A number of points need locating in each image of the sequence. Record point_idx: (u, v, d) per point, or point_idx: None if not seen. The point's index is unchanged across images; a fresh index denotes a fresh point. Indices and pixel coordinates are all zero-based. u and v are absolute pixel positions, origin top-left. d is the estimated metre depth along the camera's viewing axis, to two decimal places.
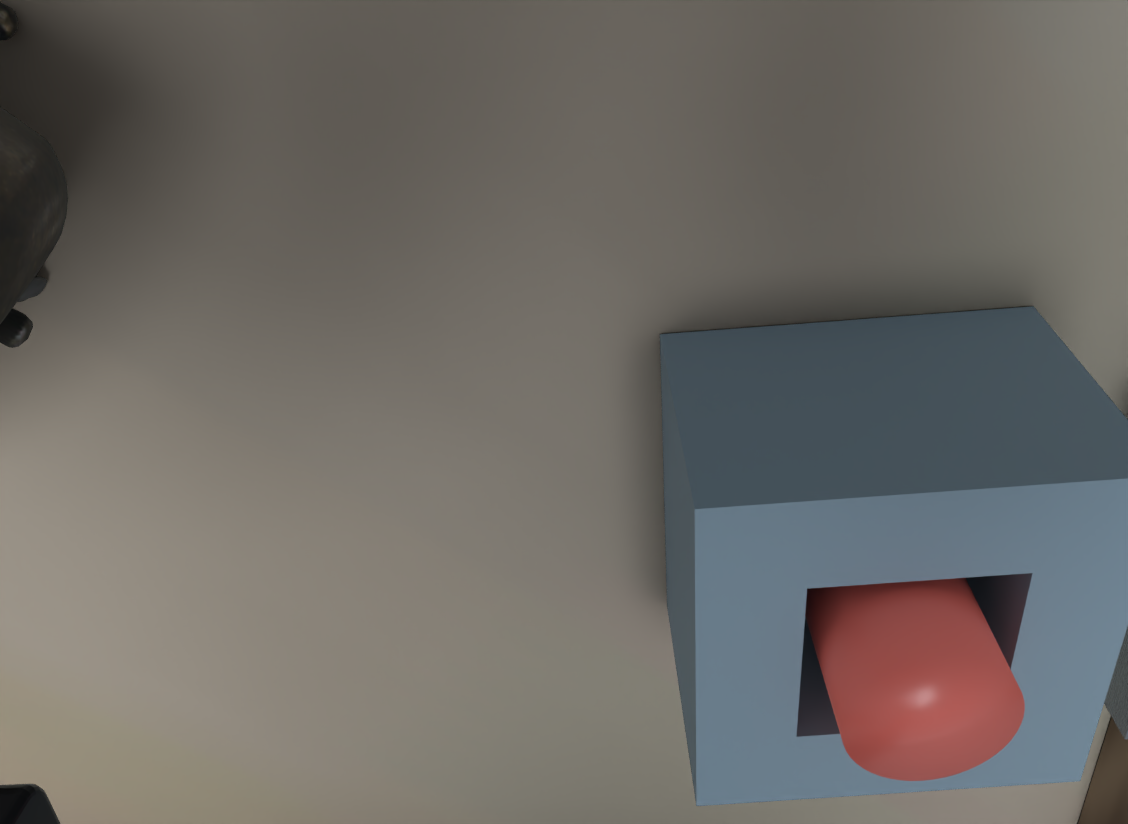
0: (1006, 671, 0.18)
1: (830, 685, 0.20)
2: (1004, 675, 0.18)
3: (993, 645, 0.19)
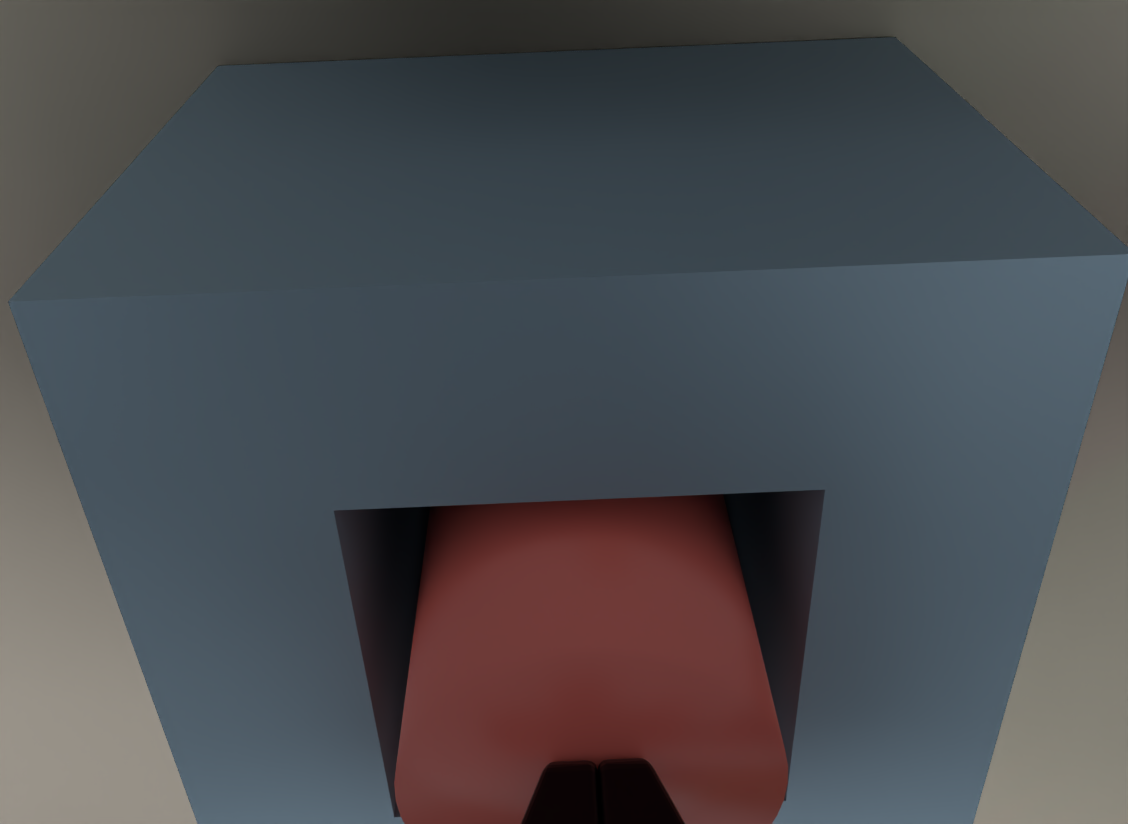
0: (443, 691, 0.08)
1: None
2: (447, 702, 0.08)
3: (448, 635, 0.09)
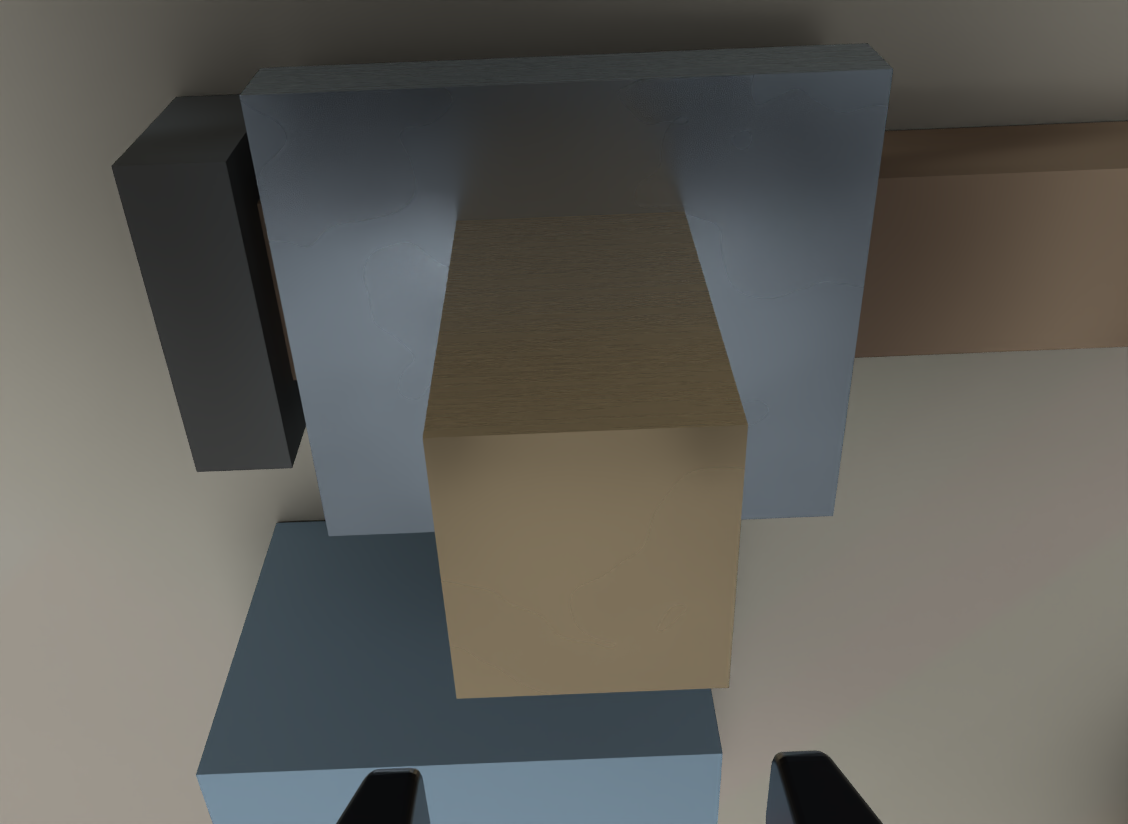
0: None
1: None
2: None
3: None
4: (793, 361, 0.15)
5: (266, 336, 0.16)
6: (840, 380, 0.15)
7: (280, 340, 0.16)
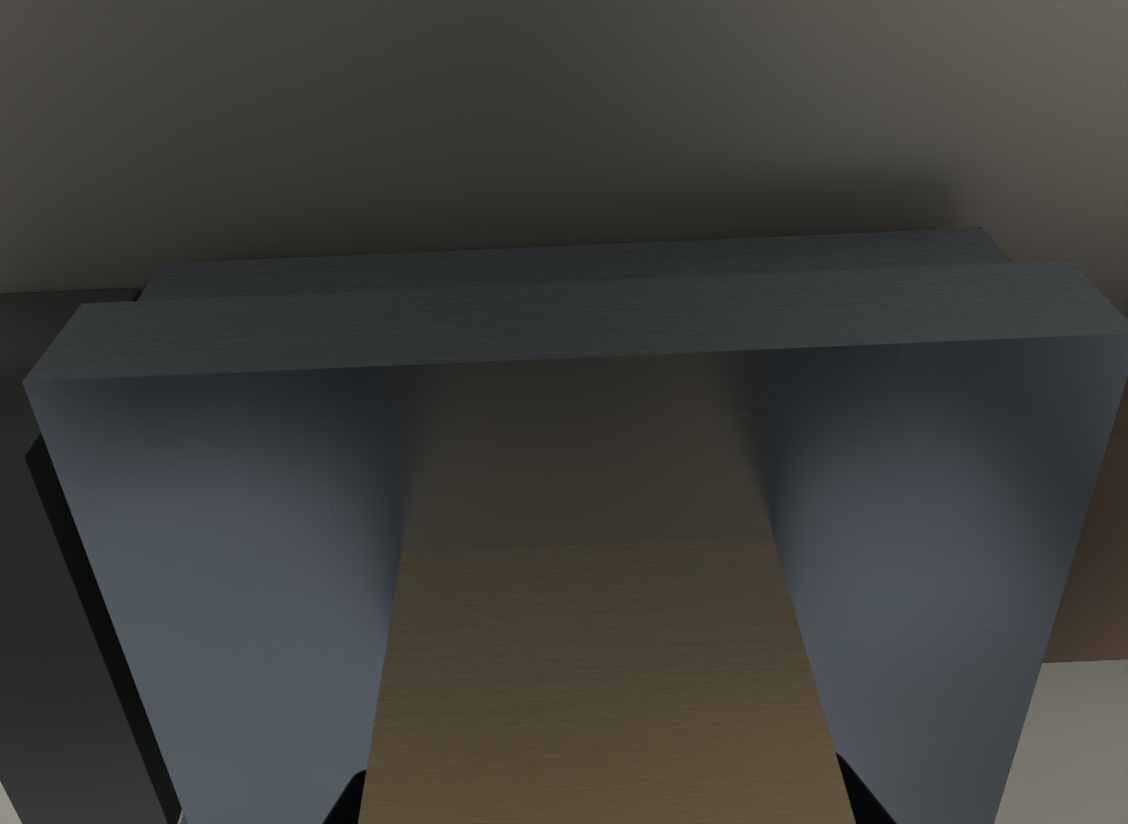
0: None
1: None
2: None
3: None
4: (930, 725, 0.10)
5: (120, 675, 0.10)
6: (1000, 746, 0.10)
7: None
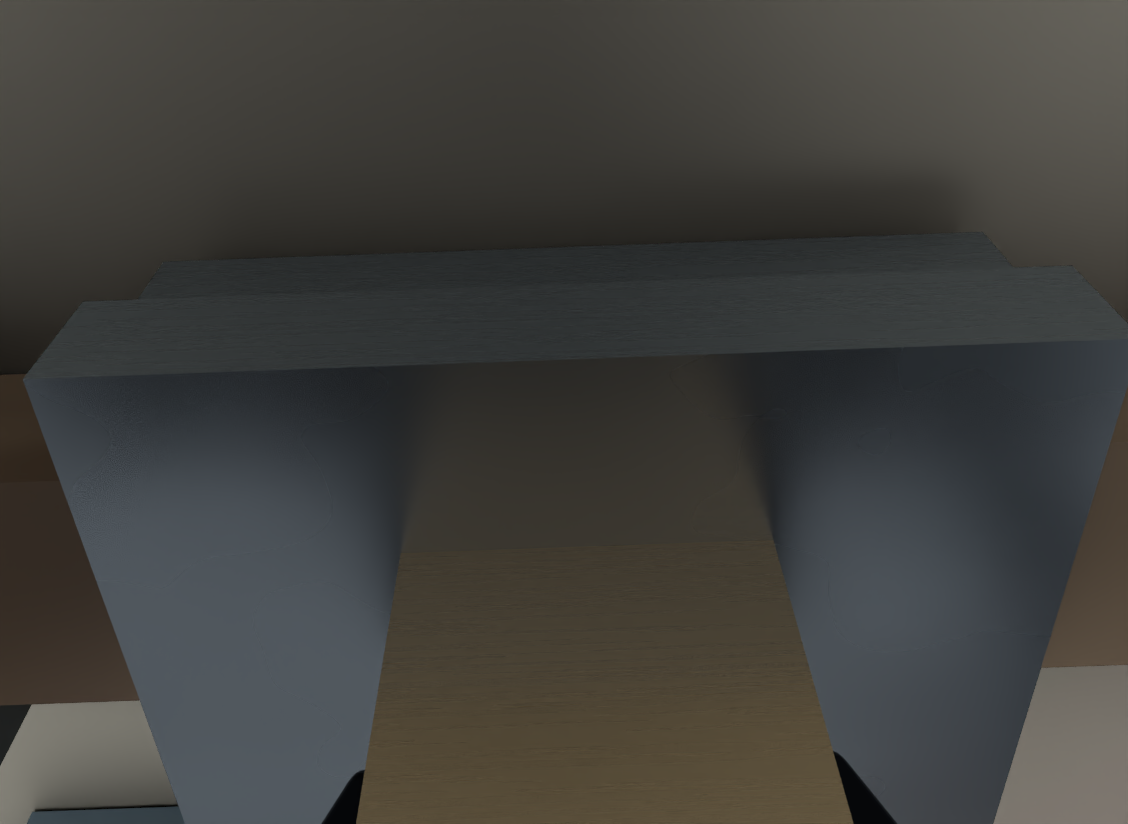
0: None
1: None
2: None
3: None
4: (929, 729, 0.10)
5: None
6: (998, 751, 0.10)
7: None
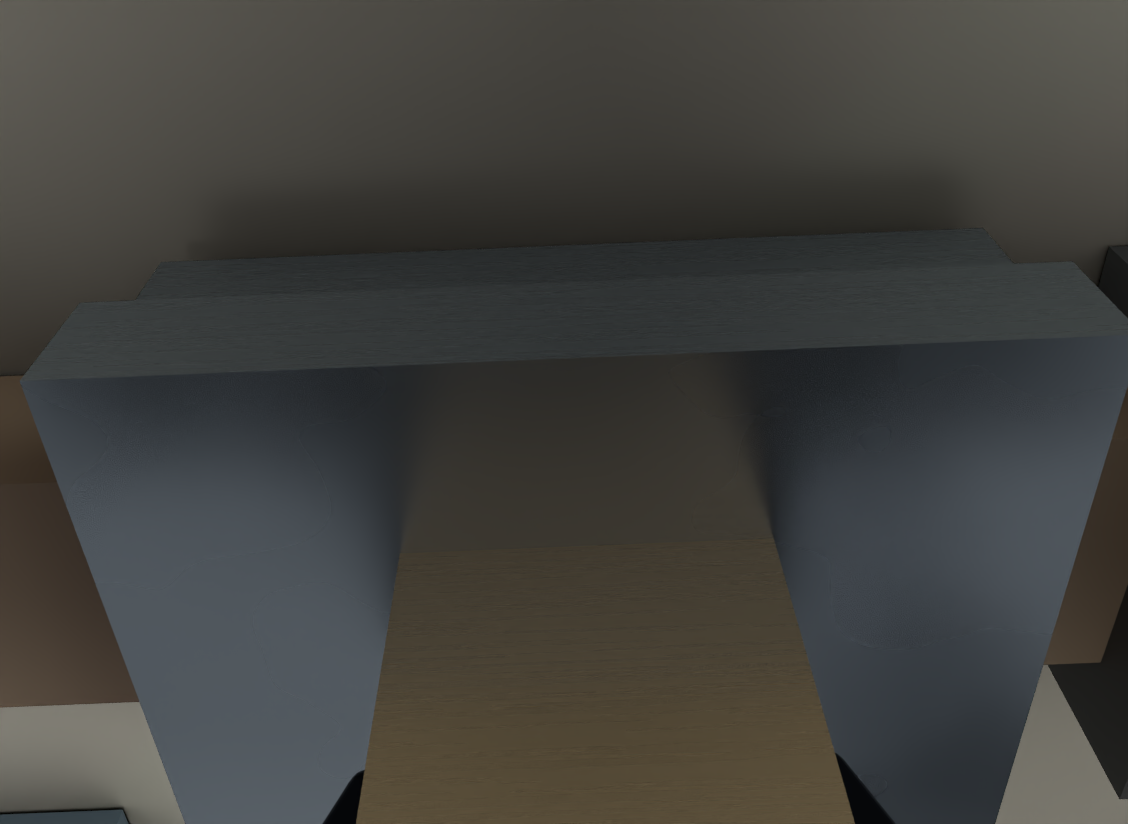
0: None
1: None
2: None
3: None
4: (931, 727, 0.10)
5: None
6: (1000, 749, 0.10)
7: None
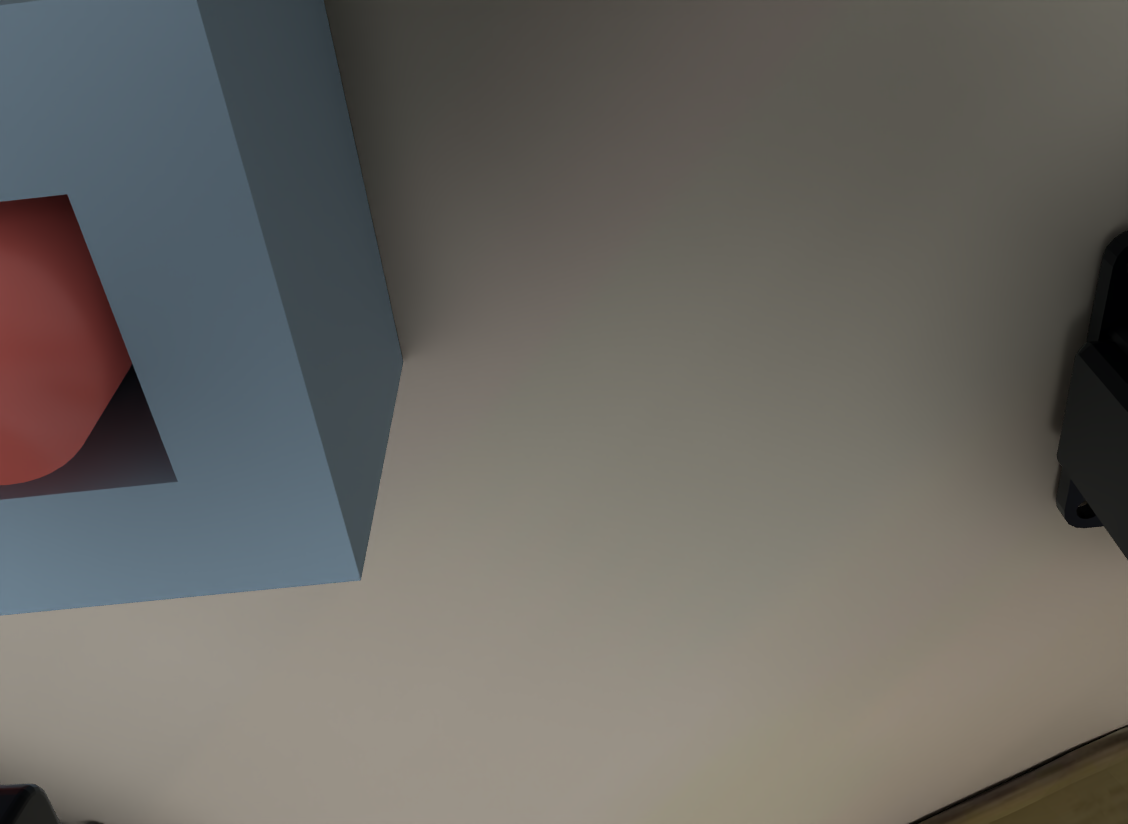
0: None
1: None
2: None
3: None
4: None
5: None
6: None
7: None
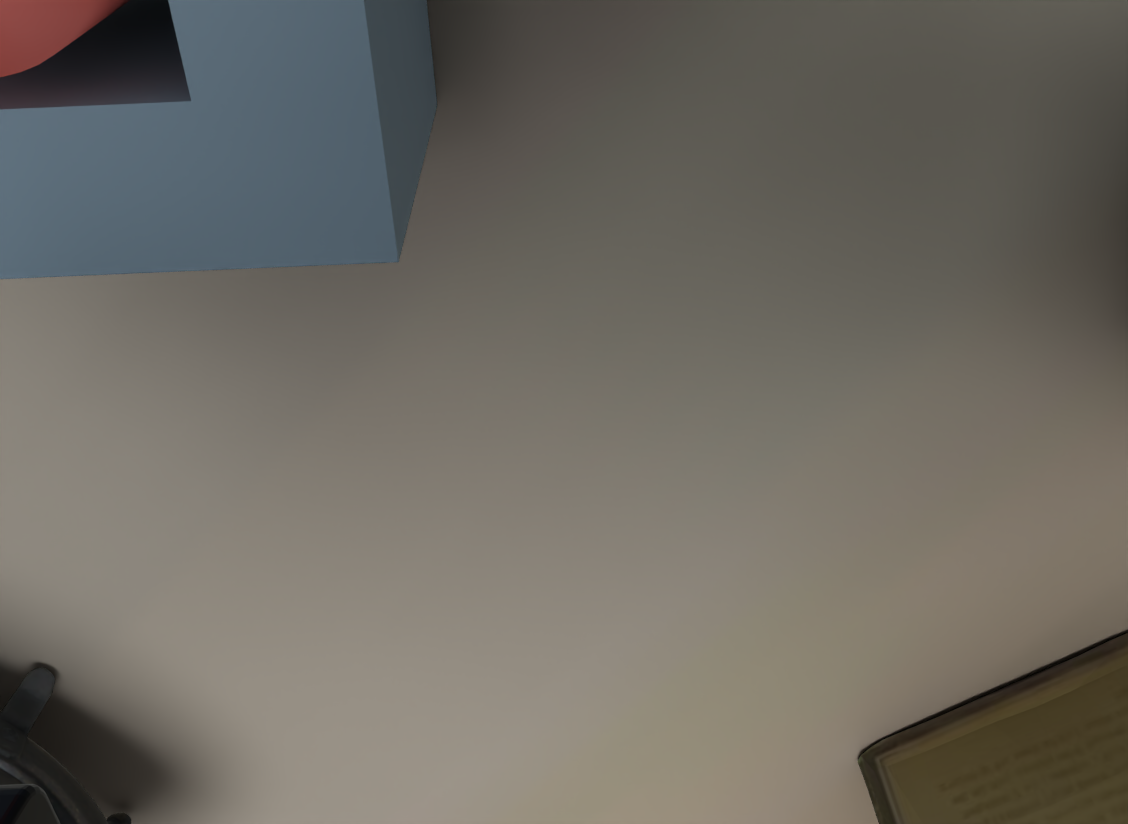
0: None
1: None
2: None
3: None
4: None
5: None
6: None
7: None
